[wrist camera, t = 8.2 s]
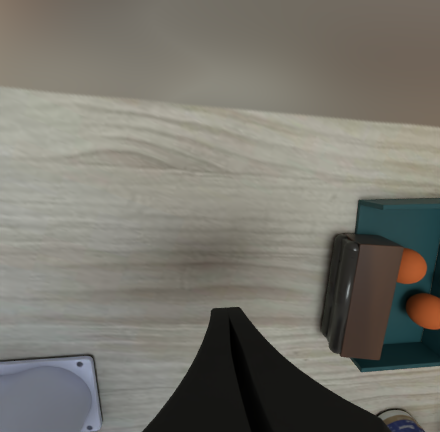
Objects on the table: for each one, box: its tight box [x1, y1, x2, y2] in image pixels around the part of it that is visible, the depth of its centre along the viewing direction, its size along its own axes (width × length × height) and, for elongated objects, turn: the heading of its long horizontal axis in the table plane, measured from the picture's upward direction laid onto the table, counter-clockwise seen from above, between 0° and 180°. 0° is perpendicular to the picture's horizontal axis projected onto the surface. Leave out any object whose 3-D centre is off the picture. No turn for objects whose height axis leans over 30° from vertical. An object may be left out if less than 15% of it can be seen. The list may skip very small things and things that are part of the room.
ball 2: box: [406, 293, 440, 329], centre depth 21 cm, size 3×3×3 cm
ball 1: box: [397, 248, 427, 284], centre depth 20 cm, size 3×3×3 cm
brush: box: [321, 233, 404, 360], centre depth 20 cm, size 3×10×4 cm
